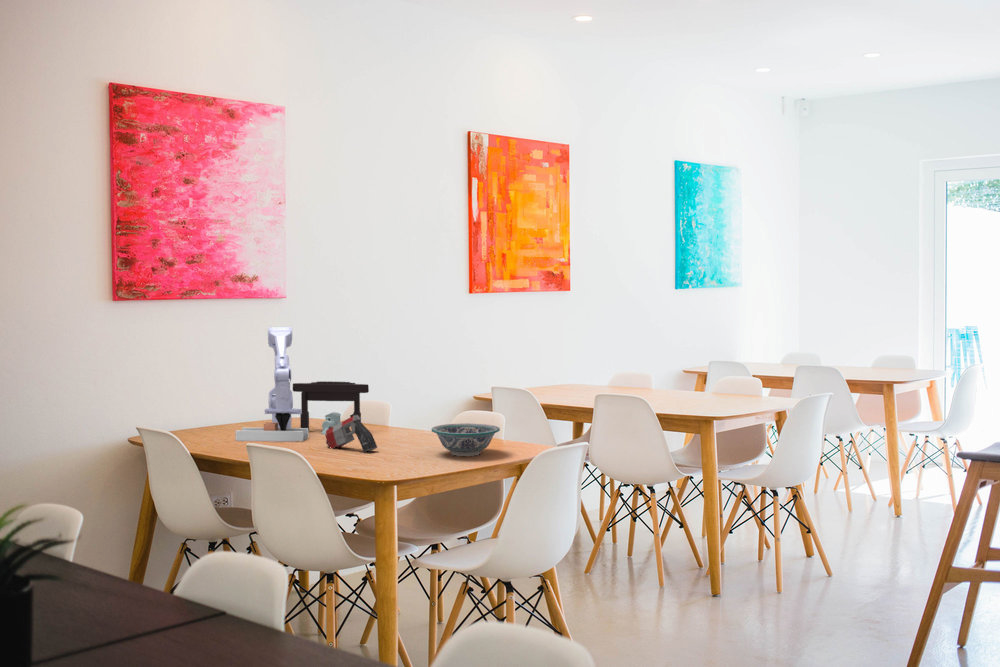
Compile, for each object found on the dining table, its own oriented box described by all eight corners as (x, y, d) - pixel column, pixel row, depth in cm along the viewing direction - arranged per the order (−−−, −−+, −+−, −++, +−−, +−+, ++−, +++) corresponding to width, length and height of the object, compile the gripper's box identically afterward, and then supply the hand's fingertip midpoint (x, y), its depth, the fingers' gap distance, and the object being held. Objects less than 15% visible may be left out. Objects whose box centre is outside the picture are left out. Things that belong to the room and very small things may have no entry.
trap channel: (242, 437, 391) (242, 427, 390) (308, 438, 389) (308, 428, 388) (235, 440, 382) (235, 430, 382) (302, 441, 380) (302, 431, 380)
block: (267, 433, 388) (267, 422, 387) (278, 433, 387) (278, 422, 387) (263, 435, 383) (263, 424, 383) (274, 435, 383) (274, 424, 383)
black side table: (363, 384, 394) (285, 383, 398) (363, 435, 395) (286, 433, 400) (373, 380, 409) (298, 379, 414) (374, 429, 410) (299, 428, 415)
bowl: (429, 460, 340) (429, 433, 340) (433, 448, 365) (433, 423, 365) (500, 460, 341) (500, 433, 340) (499, 448, 366) (499, 423, 365)
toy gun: (341, 465, 369) (328, 429, 372) (379, 446, 358) (366, 409, 361) (331, 467, 365) (318, 430, 368) (370, 448, 353) (356, 410, 356)
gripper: (261, 399, 381) (262, 433, 381) (298, 399, 380) (298, 433, 380) (267, 397, 388) (267, 430, 388) (302, 397, 387) (303, 431, 387)
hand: (283, 432), depth 385 cm, fingers closed
